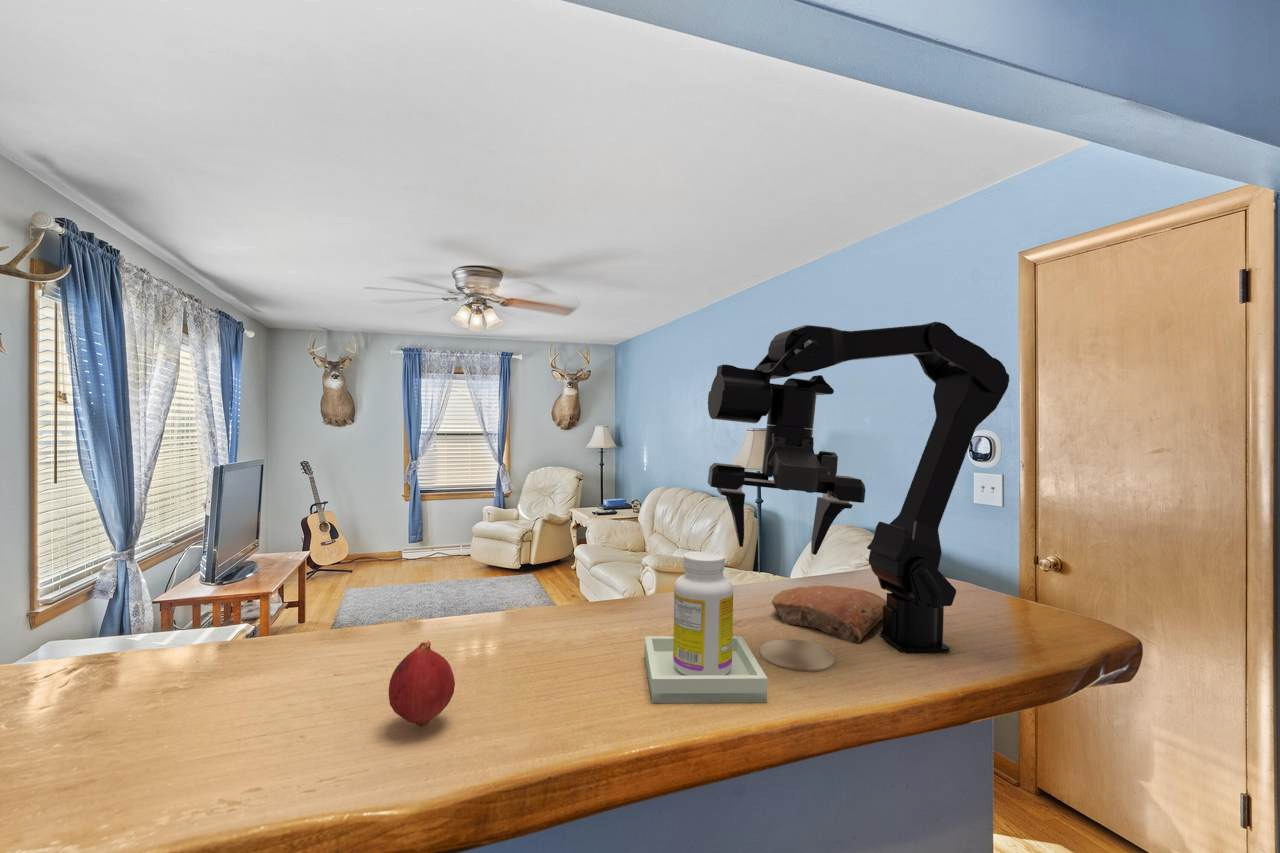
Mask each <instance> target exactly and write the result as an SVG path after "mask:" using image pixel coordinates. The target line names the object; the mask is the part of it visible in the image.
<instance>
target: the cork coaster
mask: <svg viewBox="0 0 1280 853" xmlns="http://www.w3.org/2000/svg"><path fill="white" fill-rule="evenodd" d="M759 654H760V657H761V658H762V659H763V660H764V661H766V662H767V663H769V664H771V665H773V666H775V667H778V668H782V669H785V670H789V671H790V670H791V671H796V672H819V671H824V670H828V669H830V668H832V667H833V666H834V664H836V656H835V654H834V652H832V651H831V650H830V649H828V648H826V647H824V646H822V645H820V644H818V643H815V642H810V641H806V640H802V639H801V640H800V639H790V638H789V639H787V638H786V639H775V640H770V641H768V642H767V641H766V642H765V643H763V644H762V645H761V646H760V649H759Z"/></svg>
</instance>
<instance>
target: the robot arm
mask: <svg viewBox="0 0 1280 853" xmlns="http://www.w3.org/2000/svg"><path fill="white" fill-rule="evenodd" d="M908 355H909V356H910V355H913V356H914V357H915V358H916V359H917V361H918V363H919V365H920V367H921V369H922V371H923V373H924V374H925V376H926V377H927V378H929V380H930V381H932V382H933V383H934V384H935V386H934V391H933V395H932V396H933V397H932V398H933V404H934V409H935V420H934V422H933V426H932V428H931V431H930V433H929V436H928V438H927V442H926V444H925V447H924V449H923V451H922V453H921V454H922V455H921V458H920V460H919V463H918V465H917V467H916V470H915V472H914V476H913V478H912V480H911V482H910V484H909V485H910V486H909V488H908V492H907V494H906V496H905V499H904V501H903V504H902V506H901V509H900V512H899V514H898V515H897V516H896V517H895V518H894V519H893V520H892V521H891V522H890V523H887V522H884V521H878V523H877V524H876V526H875V530H874V534H873V538H872V540H871V542H870V543H869V545H867V547H866V548H867V550H869V555H868V564H869V566H870V568H871V571H872V572H873V573H874V575H875V576H876V577H877V579H878V582H879V586H880V588H881V589H882V590H885V591H887V593H886V605H884V606H883V619H882V624H881V626H882V629H881V630H879V635H880V636H881V637H883V638H884V639H885V640H886V641H887V642H889V643H890V644H891V645H892V646H894V647H895V648H896V649H898V650H899V651H900V652H904V653H905V652H906V653H909V652H910V653H913V652H914V653H917V652H919V653H923V652H924V653H930V652H931V653H933V652H936V653H937V652H942V653H945V652H946V653H948V652H950V651H951V648H950V646H948V645H947V644H946V643H944V619H945V618H944V616H945V615H944V614H945V612H944V610H945V607H951V606H953V603H954V601H955V597H956V596H957V595H956V594H957V589H956V588H955V587H954V585H952V584H951V582H950V581H949V580H948V579H947V578H946V577H945V576H944V575H943V573H941V572H940V570H939V569H940V563H941V558H942V546H941V540H940V534H939V528H940V525H941V522H942V520H943V517H944V514H945V511H946V508H947V505H948V503H949V500H950V498H951V495H952V492H953V490H954V486H955V485H956V481H957V478H958V477H959V474H960V471H961V468H962V466H963V463H964V461H965V458H966V455H967V452H968V450H969V447H970V444H971V441H972V439H973V436H974V434H975V431H976V429H977V427H978V426H979V425H980V424H982V422H984V420H986V419H987V418H988V417H989V416H990V415H991V414H992V413H993V412H995V410H996V409H997V408H998V406H999V404H1000V402H1001V400H1002V399H1003V397H1004V395H1005V394H1006V391H1007V390H1008V388H1009V383H1010V374H1009V373H1008V372H1007V369H1006V367H1005V366H1004V364H1003V362H1002V361H1000V360H999V359H998V358H996V357H993V356H992V355H990V353H989V352H987V351H986V350H985V348H983V347H981V346H980V345H977V344H976V343H974V342H972V341H971V340H968V339H966V338H964V337H963V336H960V335H959V334H957V333H956V332H955V331H954V330H953V329H952V328H951V327H950V326H949V325H947V324H946V323H943V322H941V321H933V322H928V323H924V324H917V325H906V326H894V327H893V326H892V327H885V328H884V327H883V328H872V329H861V330H841V329H838V328H833V327H831V326H821V325H820V326H819V325H809V324H807V325H806V324H804V325H801V326H796V327H795V328H792V329H788V330H785V331H782V332H779V333H778V334H776V335H775V336H774V337H773V338H772V340H770V343H769V346H768V349H767V354H766V355H764V357H763V358H762V360H760V362H759V363H758V364H757V365H756V366H755V368H752V369H750V368H742V367H737V366H735V365H732V364H724V363H723V364H720V365H717V368H716V375H715V377H714V378H713V381H712V383H711V388H710V391H708V396H707V410H708V415H709V417H710V419H712V420H721V421H729V422H737V423H748V424H758V423H759V422H760V420H761V419H762V417H766V416H767V420H766V428H765V437H764V447H763V448H764V450H763V457H762V458H763V460H762V465H761V466H762V468H761V472H757V471H755V472H754V471H747V470H746V471H745V467H744V466H742V465H738V464H730V463H721V462H713V463H712V464H711V465H709V468H708V476H707V484H708V485H709V486H710V487H711V488H716V491H717V492H718V493H719V494H720V496H724V497H725V499H726V501H727V503H728V504H727V505H728V506H729V509H730V512H731V517H732V520H733V526H734V528H735V533H736V539H737V543H738V546H739V547H740V548H743V547H744V542H745V501H746V493H744V492H743V491H742V490H743V489H742V488H743V487H744V486H747V487H750V486H751V487H759V488H769V489H779V490H783V491H797V492H798V491H799V492H805V493H809V494H813V493H816V494H822V497H820V496H817V498H816V506H815V513H814V517H813V518H814V519H813V520H814V521H813V526H812V533H811V545H810V546H811V548H810V549H811V551H810V552H811V555H813V556H814V555H815V556H816V555H817V554H818V552H819V550H820V548H821V546H822V544H823V542H824V540H825V538H826V536H827V533H828V531H829V529H830V528H831V526H832V524H833V522H834V521H835V519H836V518H837V516H838V515H840V513H842V511H844V510H846V509H847V510H848V509H852V508H853V503H861V504H863V503H865V499H866V486H865V483H864V482H863V481H862V479H860V478H856V477H852V476H848V475H838V474H837V472H838V460H839V456H838V454H837V453H836V452H834V451H825V450H823V451H822V450H820V451H819V452H818V453H815V450H814V445H815V443H814V437H813V432H814V424H815V413H816V403H817V396H824V395H833V394H834V392H835V391H834V389H833V387H832V386H831V385H830V384H829V383H827V381H826V380H825V378H824V376H823V375H822V374H820V375H812V376H811V378H809V379H802V378H796V377H795V378H794V377H792V376H793V375H800V374H806V373H807V374H808V373H813V372H817V371H819V370H824V369H826V368H830V367H833V366H836V365H839V364H842V363H845V362H848V361H849V362H850V361H859V360H867V359H870V360H871V359H877V358H887V357H898V356H908ZM787 377H788V378H787ZM789 377H790V378H789ZM781 378H787V379H786V380H785V381H784V383H783V384H781V383H780V384H779V383H771V380H775V379H781ZM769 478H773V479H769ZM850 502H852V503H850Z"/></svg>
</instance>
